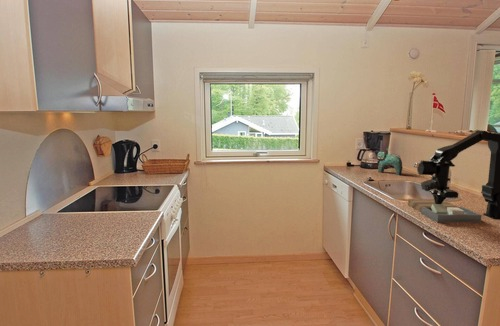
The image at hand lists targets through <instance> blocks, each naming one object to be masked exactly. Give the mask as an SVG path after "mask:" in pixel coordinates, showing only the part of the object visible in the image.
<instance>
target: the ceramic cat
mask: <svg viewBox="0 0 500 326" xmlns="http://www.w3.org/2000/svg"><path fill="white" fill-rule="evenodd" d="M387 150H389V151H391V149H390V148H387V149H386V150H385V151H381V150H379V151H378V153H377V154H376V159H378V160H379V161H378V166H377V171H378V172H377V173H382V174H383V173H384V172H385V168H386V167H387V166H392V167H393V168H394V169H395V170H394V171H395V176H401V175H402V172H403V162H402V158H401V156H400V155H399V154H397V153H395V154H393V153H389V154H388V153H387V152H386V151H387Z"/></svg>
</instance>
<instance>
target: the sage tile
mask: <svg viewBox="0 0 500 326" xmlns="http://www.w3.org/2000/svg"><path fill="white" fill-rule="evenodd" d="M431 209H432V211H433V212H435V213H437V214H447V213H448V211H447V209H446V208H445V206H444V205H443V204H432V206H431Z"/></svg>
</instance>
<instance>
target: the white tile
mask: <svg viewBox="0 0 500 326" xmlns="http://www.w3.org/2000/svg"><path fill="white" fill-rule="evenodd" d="M447 211H448V213H449V214H464V211H463V210H462V209H460V207H459V208H454V207H447Z"/></svg>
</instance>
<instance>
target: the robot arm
mask: <svg viewBox="0 0 500 326" xmlns="http://www.w3.org/2000/svg"><path fill="white" fill-rule="evenodd" d="M481 141H485V142H487V146H488V149H489V151H490V160H489V169H488V178H487V179H488V180H487V183H486V184H485V185H484V184H482V185H481V191H480V193H481V194H482V195H481V196H482V197H483V198H484V202H486V203H487V205H486V211H485V212H484V213H483V214H482V215H484V216H486V217H489V218H491V219H500V132H489V131H487V130H482V129H481V130H479V129H478V130H476V131H474V132H473V133H471V134H469V135H468V136H466V137H464V138H462V139H461V140H459V141H457V142H455V143H453V144H450V145H446V146H442V147H440V148H437V149H436V150H435V151H434V152H435V153H434V154H433V155H432V156H431V157H430V158H429V160H423V159H422V160H420V162H419V164H418V165H417V168H416V169H417V174H418V175H419V176H431V177H430V179H427V180H425V181H422V182H420V186H421V190H424V191H425V192H429V193H431V195H432V197H433V200H434V201H435V204H442V202H443V201H446V199H458V198H459V193H458V191H456V190H454V189H450V186H448V183H449V182H450V181H451V178H450V177H449V175H450V169H451V167H456V165H455V164H454V163H453V162H452V160H454V159H456V157H457V156H458V155H459V154H460V153H461V152H464V151H465V150H467V149H469V148H470V147H473V146H474V145H476V144H478V143H480V142H481ZM433 175H434V176H433Z"/></svg>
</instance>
